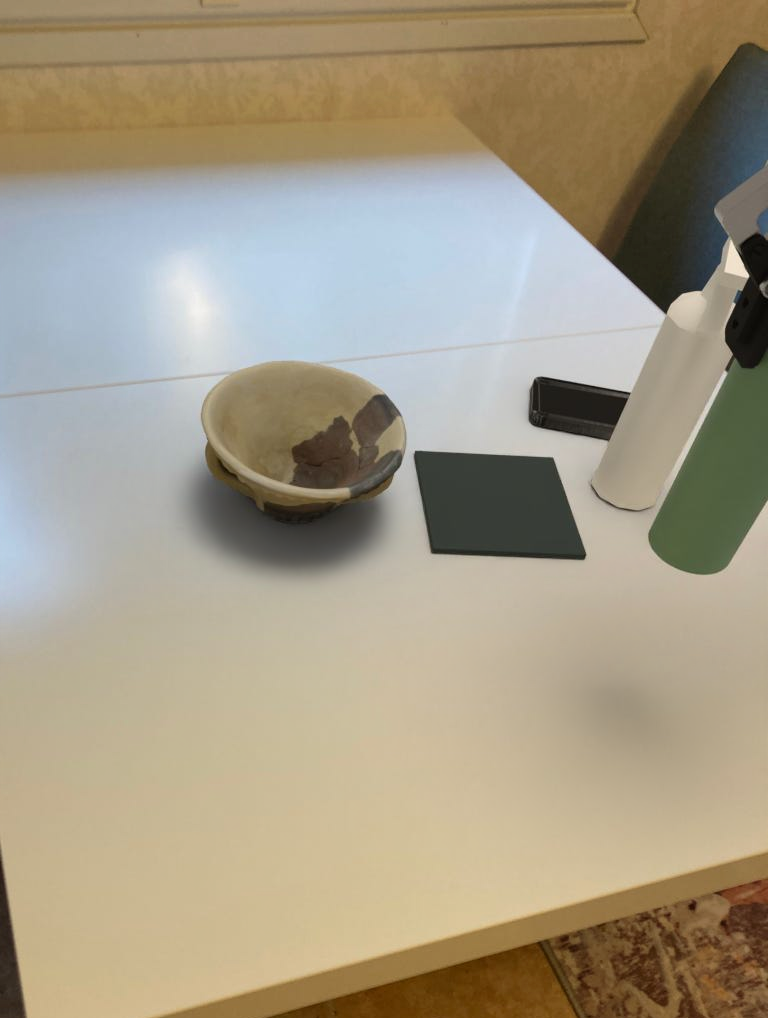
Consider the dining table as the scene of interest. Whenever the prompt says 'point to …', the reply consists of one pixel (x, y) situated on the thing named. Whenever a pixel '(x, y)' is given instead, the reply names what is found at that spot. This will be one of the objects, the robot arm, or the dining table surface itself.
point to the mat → (496, 505)
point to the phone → (576, 406)
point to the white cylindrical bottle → (671, 390)
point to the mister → (719, 478)
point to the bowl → (302, 438)
